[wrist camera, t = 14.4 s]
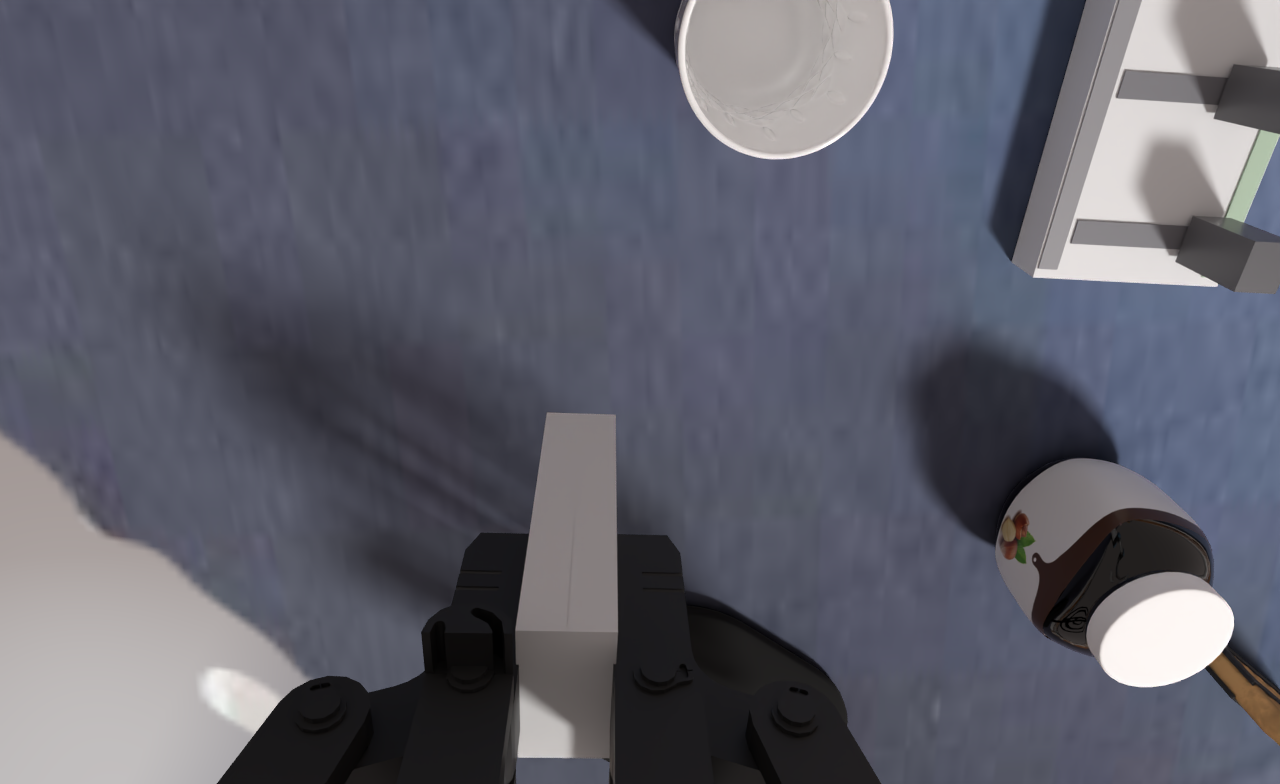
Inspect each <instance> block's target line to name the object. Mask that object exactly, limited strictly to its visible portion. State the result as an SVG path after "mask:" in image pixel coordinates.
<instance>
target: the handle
mask: <svg viewBox="0 0 1280 784" xmlns="http://www.w3.org/2000/svg"><path fill="white" fill-rule="evenodd" d="M1175 262H1176V263H1178V264H1180V265H1182V266H1184V267H1186V268H1188V269H1190V270H1192V271H1194V272H1196V273H1198V274H1200V275H1202V276H1204V277H1206V278H1208V279H1210V280H1212V281H1214V282H1216V283H1218V284H1220V285H1222V286H1224V287H1226V288H1228V289H1230V290H1232V291H1234V292H1248V293H1268V294H1275V293H1276V291H1277V289H1278V287H1279V284H1280V237H1279V236H1276V235H1274V234H1271V233H1269V232H1266V231H1263V230H1261V229H1258V228H1256V227H1253V226H1251V225H1248V224H1245V223H1243V222H1240V221H1238V220H1235V219H1232V218H1224V217H1206V216H1192V219H1191V222H1190V224H1189V227H1188V229H1187V232H1186V235H1185V237H1184V240H1183V243H1182V245H1181V248H1180V250H1179V253H1178V256H1177V258H1176V261H1175Z"/></svg>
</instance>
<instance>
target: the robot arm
mask: <svg viewBox="0 0 1280 784" xmlns="http://www.w3.org/2000/svg"><path fill="white" fill-rule="evenodd" d="M421 634H422V645H423V656H424V666H425V671H424V672H423V673H421V674H420V675H419V676H417V677H415V678H413V679H412V680H410V681H408V682H405V683H402V684H400V685H397V686H394V687H390V688H386V689H382V690H378V691H374V692H369V693H368V692H367V691H366V690H365V688H364V687H363V686H362V685H361V684H360V683H359V682H357V681H355V680H352V679H350V678H348V677H340V676H326V677H322V678H318V679H314V680H310V681H308V682H306V683H304V684H302V685H300V686H298V687H297V688H295V689H293V690H292V691H291V692H290V693H289V694H287V695H286V696H285V697H284V698H283V699H282V700H281V701H280V702H279V703H278V705H277V706H276V707H275V709H274V710H273V711H272V712H271V714H270V715H269V716H268V718H267V719H266V720H265V722H264V723H263V724H262V725H261V727H260V728H259V729H258V731H257V732H256V733H255V735H254V736H253V737H252V739H251V740H250V741H249V742H248V744H247V745H246V746H245V748H244V749H243V750H242V752H241V753H240V754H239V756H238V757H237V758H236V760H235V761H234V762H233V763H232V765H231V766H230V767H229V769H228V770H227V771H226V773H225V774H224V775H223V776H222V778H221V779H220V780H219V782H218V783H217V784H516V761H517V753H518V757H523V758H610V770H609V784H881V782H880V781H879V779H878V777H877V776H876V774H875V772H874V771H873V769H872V767H871V766H870V764H869V762H868V761H867V759H866V757H865V756H864V754H863V752H862V751H861V749H860V747H859V746H858V744H857V742H856V741H855V739H854V737H853V736H852V734H851V732H850V731H849V729H848V727H847V726H846V724H845V722H844V721H843V719H842V717H841V716H840V714H839V712H838V711H837V709H836V707H835V706H834V705H833V704H832V703H831V701H830V700H829V699H828V698H827V697H826V696H825V695H824V694H823V693H821V692H820V691H818V690H816V689H815V688H813V687H811V686H810V685H807V684H803V683H800V682H796V681H775V682H772V683H770V684H767V685H764V686H762V687H761V688H760V689H759V690H758V691H757V692H756V693H755V694H754V695H750V694H747V693H744V692H740V691H737V690H733V689H730V688H728V687H725V686H723V685H720V684H718V683H717V682H715V681H714V680H712V679H711V678H709V677H708V676H707V675H706V674H705V673H704V672H703V671H702V670H701V669H700V668H699V666H698V665H697V663H696V661H695V660H694V657H693V653H692V649H691V640H690V632H689V624H688V616H687V607H686V599H685V593H684V582H683V577H682V566H681V557H680V552H679V551H678V550H677V548H676V547H675V546H674V544H673V543H672V542H671V540H670V539H669V537H668V536H667V535H626V534H617V502H616V415H607V414H576V413H547V415H546V422H545V429H544V436H543V443H542V450H541V457H540V464H539V471H538V477H537V484H536V491H535V498H534V505H533V512H532V519H531V526H530V532H529V534H511V533H480V534H479V536H478V537H477V538H476V539H475V540H474V541H473V542H472V543H471V544H470V546H469V547H468V548H467V549H466V550H465V554H464V558H463V562H462V566H461V570H460V574H459V578H458V582H457V586H456V590H455V594H454V598H453V602H452V605H451V606H449V607H447V608H444V609H442V610H440V611H439V612H438V613H436V614H435V615H434V616H433V617H431V618H430V619H429V620H428V621H427V623H426V625H425V627H424V628H423V630H422V632H421Z"/></svg>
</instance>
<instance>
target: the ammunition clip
mask: <svg viewBox="0 0 1280 784" xmlns="http://www.w3.org/2000/svg"><path fill="white" fill-rule="evenodd" d="M1205 669H1206V670H1207V671H1208V672H1209V673H1210V675H1211V676H1212V677H1213V678H1214V679H1215V680H1216V682H1217V683H1218V684H1219V685H1220V686H1221V687H1222V688H1223V690H1224V691H1225V692H1226V693H1227V694H1228V695H1229V697H1230V698H1231V699H1233V700H1234V701H1235V702H1236V703H1238V704H1239V705H1240V706H1241V707H1242V708H1243V709H1244V710H1245V711H1246V712H1247V713H1248V714H1249V715H1250V717H1251V718H1252V719H1253V720H1254V721H1255V722H1256V723H1257V725H1258V726H1259V727H1260V728H1261V729H1262V730H1263V731H1264V732H1265V733H1266V734H1267V735H1268V736H1269V737H1271V738H1272V739H1273V740H1274V741H1276V742H1277V744H1278V745H1279V746H1280V690H1279V689H1278V688H1277V687H1276V686H1274V685H1273V684H1272V683H1271V682H1270V681H1269V680H1267V679H1266V678H1265V677H1264V676H1263V675H1262V674H1260V673H1259V672H1258V671H1257V670H1256V669H1254V668H1253V667H1252V666H1251V665H1250V664H1249V663H1247V662H1246V661H1245V660H1244V659H1243V658H1241V657H1240V656H1239V655H1238V654H1237V653H1236V652H1234V651H1233V650H1232V649H1231V648H1230V647H1228V646H1226V647H1225V648H1224V650H1223V651H1222V652H1221V654H1220V655H1219V656H1218V657H1217V658H1216V659H1215V660H1214V661H1213V662H1211V663H1210V664H1209V665H1207V666H1206V667H1205Z"/></svg>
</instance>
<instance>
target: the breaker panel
mask: <svg viewBox="0 0 1280 784" xmlns="http://www.w3.org/2000/svg"><path fill="white" fill-rule="evenodd" d="M1233 64H1238V65H1252V66H1267V67H1278V68H1280V0H1086V3H1085V7H1084V10H1083V14H1082V17H1081V21H1080V24H1079V28H1078V31H1077V35H1076V38H1075V42H1074V45H1073V49H1072V52H1071V56H1070V59H1069V63H1068V66H1067V70H1066V73H1065V77H1064V80H1063V84H1062V87H1061V91H1060V94H1059V98H1058V101H1057V105H1056V108H1055V112H1054V115H1053V119H1052V122H1051V126H1050V129H1049V133H1048V136H1047V140H1046V143H1045V147H1044V150H1043V154H1042V157H1041V161H1040V164H1039V168H1038V171H1037V175H1036V178H1035V182H1034V185H1033V189H1032V192H1031V196H1030V199H1029V203H1028V206H1027V210H1026V213H1025V217H1024V220H1023V224H1022V227H1021V231H1020V234H1019V238H1018V241H1017V245H1016V248H1015V252H1014V255H1013V259H1012V263H1013V264H1015V265H1016V266H1018V267H1019V268H1020V269H1022V270H1023V271H1025V272H1026V273H1028V274H1029V275H1030V276H1032V277H1036V278H1056V279H1075V280H1095V281H1114V282H1133V283H1153V284H1172V285H1192V286H1211V287H1217V286H1218V283H1216V282H1214V281H1212V280H1210V279H1208V278H1206V277H1204V276H1202V275H1200V274H1198V273H1196V272H1194V271H1192V270H1190V269H1188V268H1186V267H1184V266H1182V265H1180V264H1178V263H1176V262H1175V261H1176V258H1177V256H1178V253H1179V250H1180V248H1181V245H1182V243H1183V240H1184V237H1185V235H1186V232H1187V229H1188V227H1189V224H1190V222H1191V219H1192V216H1206V217H1224V218H1232V219H1235V220H1238V221H1240V222H1243V223H1244V221H1245V218H1246V216H1247V213H1248V211H1249V209H1250V206H1251V204H1252V201H1253V199H1254V196H1255V194H1256V192H1257V189H1258V187H1259V184H1260V182H1261V180H1262V177H1263V175H1264V172H1265V170H1266V167H1267V165H1268V163H1269V160H1270V158H1271V155H1272V153H1273V150H1274V148H1275V146H1276V143H1277V141H1278V138H1279V136H1280V134H1276V133H1272V132H1268V131H1263V130H1259V129H1255V128H1251V127H1246V126H1242V125H1238V124H1234V123H1229V122H1225V121H1221V120H1217V119H1213V118H1214V115H1215V113H1216V110H1217V107H1218V105H1219V102H1220V99H1221V97H1222V94H1223V91H1224V89H1225V86H1226V83H1227V81H1228V78H1229V75H1230V73H1231V70H1232V67H1233Z"/></svg>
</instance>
